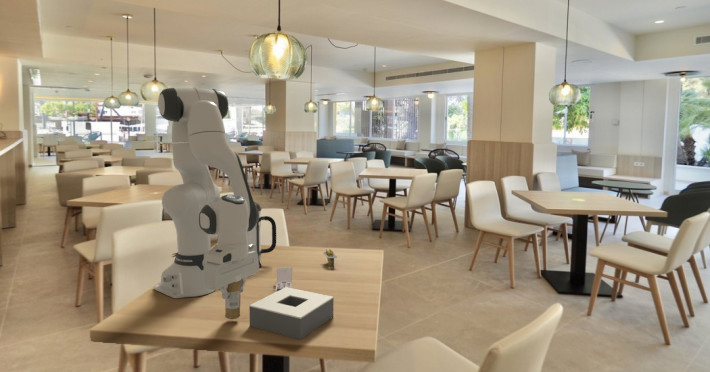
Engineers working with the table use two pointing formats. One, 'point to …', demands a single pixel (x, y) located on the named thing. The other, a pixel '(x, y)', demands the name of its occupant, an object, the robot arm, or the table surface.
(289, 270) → the mobile phone
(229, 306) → the sprinkles bottle
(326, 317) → the socket block
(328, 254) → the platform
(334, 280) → the table surface
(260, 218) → the coffee press
